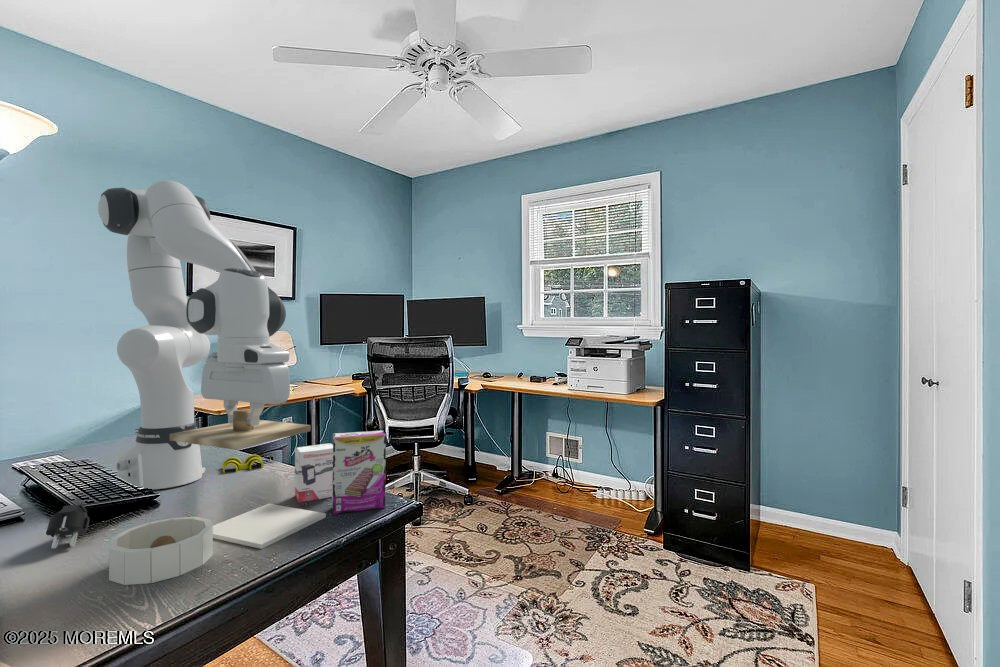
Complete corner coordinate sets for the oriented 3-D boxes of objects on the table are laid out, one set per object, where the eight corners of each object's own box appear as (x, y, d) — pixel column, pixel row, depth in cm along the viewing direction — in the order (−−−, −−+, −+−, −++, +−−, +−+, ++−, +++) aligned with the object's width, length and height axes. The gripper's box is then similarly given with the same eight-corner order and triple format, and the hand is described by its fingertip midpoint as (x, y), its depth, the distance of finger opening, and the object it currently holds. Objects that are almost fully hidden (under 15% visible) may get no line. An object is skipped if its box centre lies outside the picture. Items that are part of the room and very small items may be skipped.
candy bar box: (332, 515, 102) (332, 437, 102) (332, 507, 107) (331, 433, 107) (386, 508, 106) (386, 433, 106) (384, 501, 111) (383, 429, 111)
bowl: (89, 574, 77) (89, 542, 77) (176, 539, 90) (176, 512, 90) (145, 591, 72) (145, 558, 72) (230, 552, 85) (230, 523, 85)
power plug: (106, 520, 98) (88, 497, 89) (97, 559, 93) (78, 539, 85) (70, 525, 95) (48, 502, 87) (60, 565, 91) (36, 545, 82)
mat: (199, 535, 92) (199, 530, 92) (268, 507, 107) (268, 503, 107) (261, 548, 86) (261, 544, 86) (325, 517, 101) (325, 513, 101)
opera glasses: (222, 480, 127) (222, 461, 127) (222, 475, 132) (222, 457, 132) (263, 475, 132) (263, 456, 132) (261, 470, 137) (261, 452, 137)
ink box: (299, 504, 109) (298, 451, 109) (294, 497, 113) (294, 447, 113) (337, 496, 114) (337, 446, 114) (332, 491, 118) (331, 442, 118)
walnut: (144, 560, 80) (144, 538, 80) (167, 551, 83) (166, 530, 83) (159, 564, 79) (159, 542, 79) (181, 555, 82) (180, 533, 82)
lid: (169, 440, 89) (169, 414, 89) (250, 424, 104) (250, 402, 104) (234, 449, 82) (234, 421, 82) (310, 431, 97) (310, 407, 97)
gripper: (191, 352, 94) (191, 423, 94) (268, 354, 86) (267, 432, 86) (221, 351, 100) (221, 418, 100) (295, 353, 92) (295, 425, 92)
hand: (243, 424), depth 93 cm, fingers closed on lid, 3 cm apart
